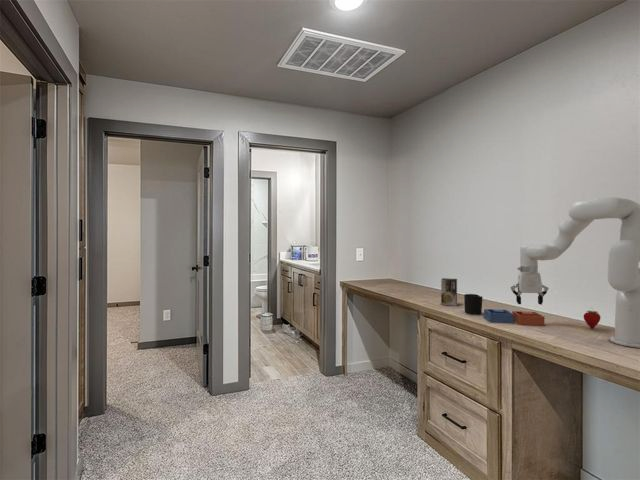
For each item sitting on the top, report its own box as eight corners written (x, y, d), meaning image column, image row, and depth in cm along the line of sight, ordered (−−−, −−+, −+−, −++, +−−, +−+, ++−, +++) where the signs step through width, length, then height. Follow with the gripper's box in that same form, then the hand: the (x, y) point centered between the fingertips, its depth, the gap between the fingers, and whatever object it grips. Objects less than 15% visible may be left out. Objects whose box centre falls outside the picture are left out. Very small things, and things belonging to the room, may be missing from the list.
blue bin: (506, 318, 196) (506, 309, 196) (513, 323, 185) (513, 314, 185) (484, 317, 198) (484, 308, 198) (489, 322, 187) (490, 313, 187)
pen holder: (483, 312, 209) (484, 295, 209) (480, 315, 201) (480, 297, 201) (466, 310, 215) (466, 293, 214) (462, 313, 207) (462, 295, 207)
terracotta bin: (535, 320, 191) (535, 311, 191) (544, 326, 180) (544, 316, 180) (512, 319, 193) (512, 311, 193) (519, 324, 182) (520, 315, 182)
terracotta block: (530, 320, 188) (531, 312, 188) (534, 323, 184) (534, 314, 184) (521, 320, 189) (521, 311, 189) (524, 322, 185) (524, 313, 185)
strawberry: (579, 327, 178) (580, 306, 178) (591, 326, 180) (592, 305, 180) (591, 330, 172) (592, 309, 172) (604, 329, 174) (604, 308, 174)
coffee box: (457, 304, 233) (457, 278, 233) (456, 306, 227) (456, 279, 227) (442, 303, 237) (442, 277, 237) (440, 304, 231) (441, 279, 231)
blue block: (501, 318, 194) (501, 309, 193) (504, 320, 189) (504, 311, 189) (492, 318, 194) (492, 309, 194) (495, 320, 190) (495, 311, 190)
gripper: (513, 270, 184) (513, 305, 183) (551, 270, 181) (551, 305, 181) (508, 269, 191) (508, 302, 191) (544, 269, 188) (545, 303, 188)
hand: (529, 304), depth 186 cm, fingers open, 9 cm apart
